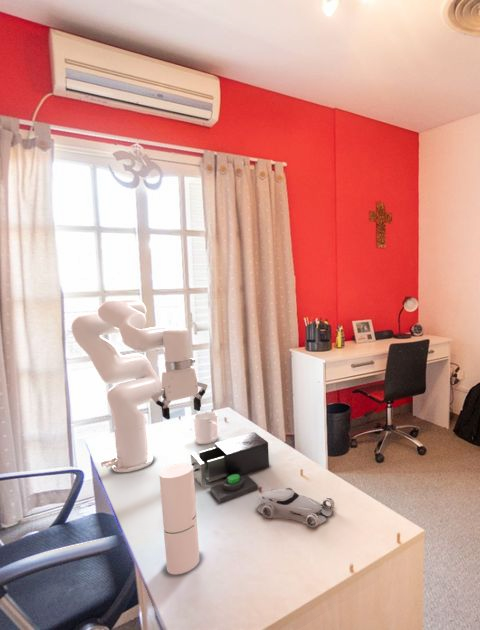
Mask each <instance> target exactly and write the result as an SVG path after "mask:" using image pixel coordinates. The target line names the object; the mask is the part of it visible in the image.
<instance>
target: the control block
mask: <svg viewBox="0 0 480 630" xmlns="http://www.w3.org/2000/svg"><path fill="white" fill-rule="evenodd" d="M258 489H259V487H258V483H256V482H255V481H254V479H252V478H251V477H250V476H249V474H247V475H244V476H240V481H239V482H238V483H235V484H228V478H227V479H226V478H225V479H224V480H223V481H222V482H221V483H218V484H215V485H213V486H210V493H211V495H213V496H214V498H215V499H216V500H217V501H218V503H219V504H223V503H224V502H227V501H231V500H233V499H236V498H238V497H241V496H244V495H246V494H248V493H252V492H254V491H256V490H258Z"/></svg>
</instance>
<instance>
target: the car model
mask: <svg viewBox="0 0 480 630" xmlns="http://www.w3.org/2000/svg"><path fill="white" fill-rule="evenodd" d="M256 499H257V501H258V502H260V503H262V504H259V506H258V507H257V511H258V512H259V513H260V514H261V515H263V516H264V518H268V519H271V518H277V519H278V518H279V519H287V520H293V521H296V522H299V523H302V524H305V525H306V526H308V527H310V528H315V527H317V526H319V525H321V524H323V523H325V522H326V521H327V518H329V517H331V516H332V514H333V510H334V508H335V500H334V499H333V498H332V497H326V498H324V499H323V500H322V503H321V502H319V501H317V500H315V499H313V498H311V497H309V496H306V495H302V494H300V493H297V492H296V491H294V489H293V488H292V487H286V488H284V489H268V490H264V491H262V492H261V493H259V494H258V495H257V497H256ZM327 502H328V503H329V504H330V506H328V505H327Z"/></svg>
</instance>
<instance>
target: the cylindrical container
mask: <svg viewBox="0 0 480 630" xmlns="http://www.w3.org/2000/svg"><path fill="white" fill-rule="evenodd" d="M158 476H159V486H160V487H159V488H160V500H161V510H162V511H161V513H162V525H163V537H164V550H165V561H166V562H165V563H166V571H167V572H168V574H170V575H182V574H185V573H188V572H190V571H192V570H193V569H194V568H195V567H196V566H197V565H198V564H199V563H200V547H199V533H198V531H199V530H198V519H197V504H196V489H195V477H194V473H193V466H192V465H191V463H183V462H182V463H177V464H173V465H170V466H167V467H165V468H163V469H161V471H160V472H159V475H158Z"/></svg>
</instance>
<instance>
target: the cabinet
mask: <svg viewBox="0 0 480 630" xmlns="http://www.w3.org/2000/svg"><path fill="white" fill-rule="evenodd" d="M215 447H217V448H218V449H219V450H220V451H221V452H222V453H223V454H225V455H226V462H227V476H226V477H224V478H225V479H227V478H228V477H229V476H230V475H234V474H238V475H239V476H244V475H249V474H252V473H255V472H258V471H261V470H264V469H267V468H269V467H270V457H269V456H270V455H269V453H270V452H269V442H268V441H267V440H265V438H263V437H262V436H260V435H259V434H257V432H254V431H253V432H250V433H246V434H243V435H239V436H235V437H232V438H227V439H225V440H222V441H221V440H220V441H218V442H215V443H214V448H215Z"/></svg>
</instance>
